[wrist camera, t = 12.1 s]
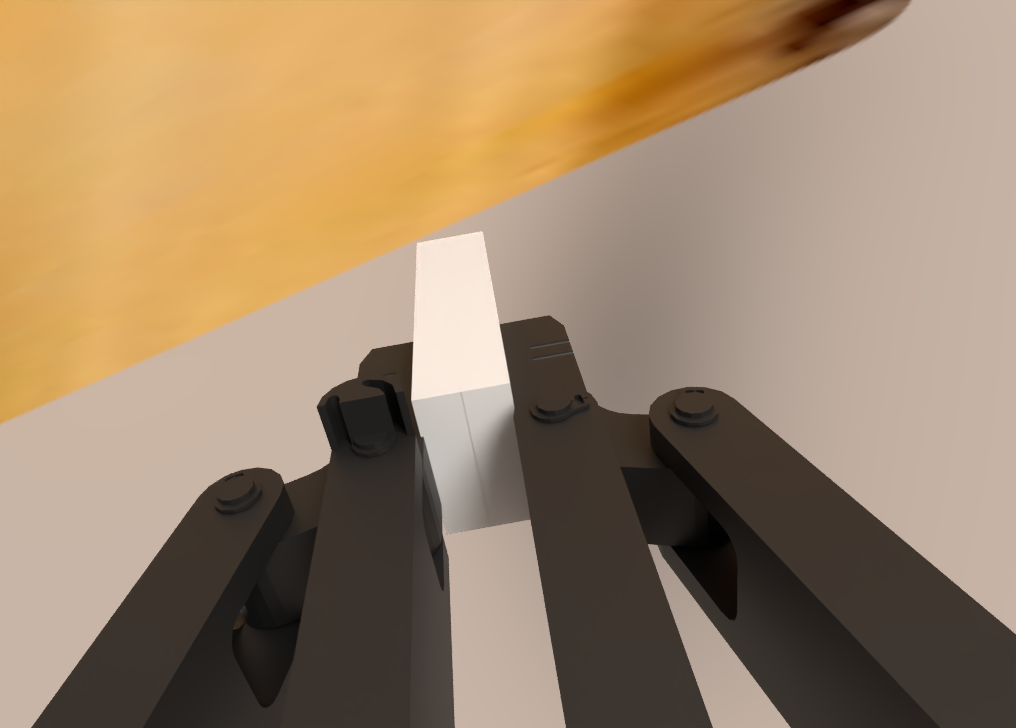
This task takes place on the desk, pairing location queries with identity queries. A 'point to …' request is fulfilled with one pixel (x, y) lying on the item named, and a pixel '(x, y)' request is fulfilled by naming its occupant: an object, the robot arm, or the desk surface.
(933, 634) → the robot arm
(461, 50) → the desk surface
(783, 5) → the desk surface
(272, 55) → the desk surface
